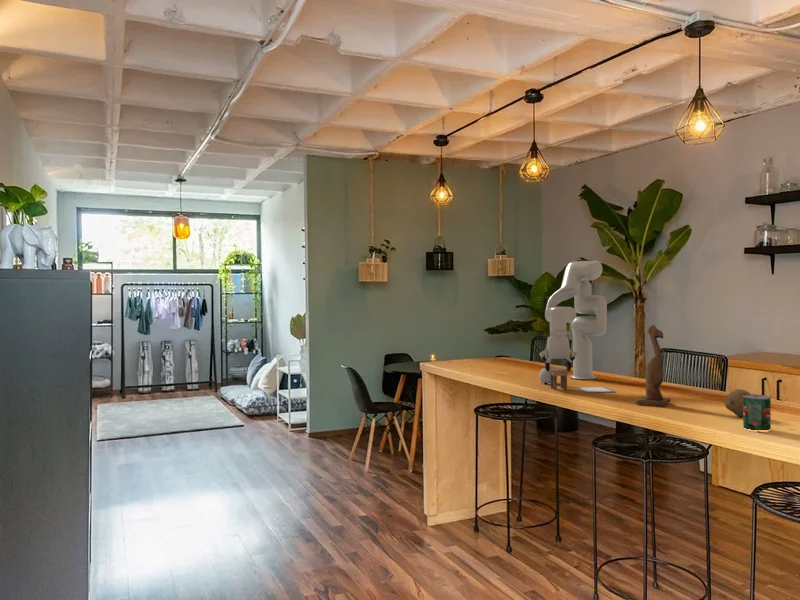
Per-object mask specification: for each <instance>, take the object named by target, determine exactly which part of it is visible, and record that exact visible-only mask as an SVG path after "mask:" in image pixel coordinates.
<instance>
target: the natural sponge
mask: <svg viewBox="0 0 800 600" xmlns="http://www.w3.org/2000/svg"><path fill="white" fill-rule="evenodd" d="M747 394H751V393H750V392H749V391H748V390H745V389H741V388H737V389H734V390H732V391H730V392H729V393H728V394H727V396H726V397H725V401H724V406H725V408H726V409H727V410H728V411H729V412H732V413H733V414H734V415H736V416H737V417H739V416H743V395H747Z"/></svg>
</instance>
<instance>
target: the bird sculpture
mask: <svg viewBox="0 0 800 600" xmlns="http://www.w3.org/2000/svg"><path fill="white" fill-rule="evenodd" d="M647 332H648V335H649V338H650V341H651V345H652V348H653V355H651V356H650V357H649V358H648V359H647V361H646V364H645V395H644V396H642V395H641V396H640V397H638V398H636V401H635V403H636V405H639V406H643V405H644V406H646V407H649V406H650V407H655V406H657V407H658V406H660V407H659V408H665V407H666V402H667V403H669V402H671V400H672V399H671V397H663V394H662V392H661V389H660V385H662V383H663V380H664V374H663V373H664V371H663V370H664V369H663V367H664V366H663V363H664V362H663V353H662V350H661V348H660V344H659V341H658V338H660V339H664V332H663V331H661V330H659V329H658V328H657V327H656V325H655V324H651V325H649V327H648V330H647Z"/></svg>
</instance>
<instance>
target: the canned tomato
mask: <svg viewBox="0 0 800 600" xmlns="http://www.w3.org/2000/svg"><path fill="white" fill-rule="evenodd" d="M771 403H772V402H771V396H769V395H764V394H754V393H750V394H747V395H743V417H742V419H743V422H742V423H743V424H742V425H743V426H742V427H744V428H746V429H751V430H769V429H771V427H772V426H771V418H772V417H771V405H772V404H771ZM771 430H772V429H771Z"/></svg>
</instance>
